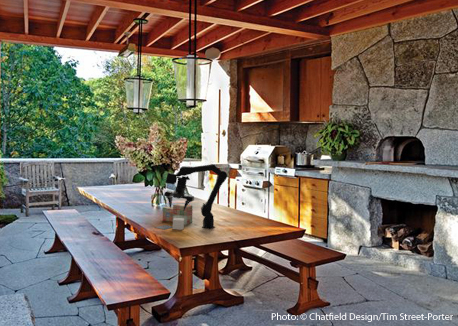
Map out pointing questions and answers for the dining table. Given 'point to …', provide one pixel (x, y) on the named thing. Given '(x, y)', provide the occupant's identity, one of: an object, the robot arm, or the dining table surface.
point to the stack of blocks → (177, 212)
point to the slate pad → (164, 227)
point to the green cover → (181, 217)
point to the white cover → (178, 223)
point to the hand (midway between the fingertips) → (177, 209)
